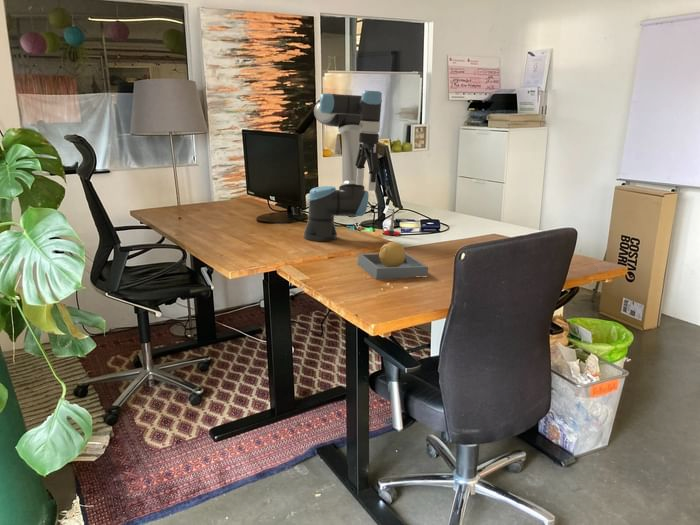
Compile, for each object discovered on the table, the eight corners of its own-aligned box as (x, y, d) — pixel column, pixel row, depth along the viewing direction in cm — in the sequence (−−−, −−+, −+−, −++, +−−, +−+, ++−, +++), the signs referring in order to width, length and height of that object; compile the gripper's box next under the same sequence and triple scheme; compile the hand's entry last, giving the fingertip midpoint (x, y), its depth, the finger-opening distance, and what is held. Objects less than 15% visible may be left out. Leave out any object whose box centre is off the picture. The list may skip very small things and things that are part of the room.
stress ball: (406, 270, 208) (399, 249, 213) (410, 256, 200) (402, 234, 205) (381, 275, 206) (374, 253, 212) (384, 260, 198) (377, 238, 203)
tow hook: (384, 232, 275) (382, 235, 266) (386, 206, 272) (384, 208, 263) (400, 233, 273) (399, 236, 264) (403, 207, 271) (402, 210, 262)
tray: (357, 263, 213) (358, 254, 212) (405, 262, 219) (405, 252, 218) (376, 279, 195) (376, 268, 194) (427, 277, 201) (428, 266, 200)
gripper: (349, 129, 221) (346, 182, 227) (371, 134, 199) (367, 193, 205) (367, 130, 224) (363, 182, 230) (390, 135, 201) (386, 193, 207)
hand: (365, 187), depth 217 cm, fingers open, 13 cm apart
